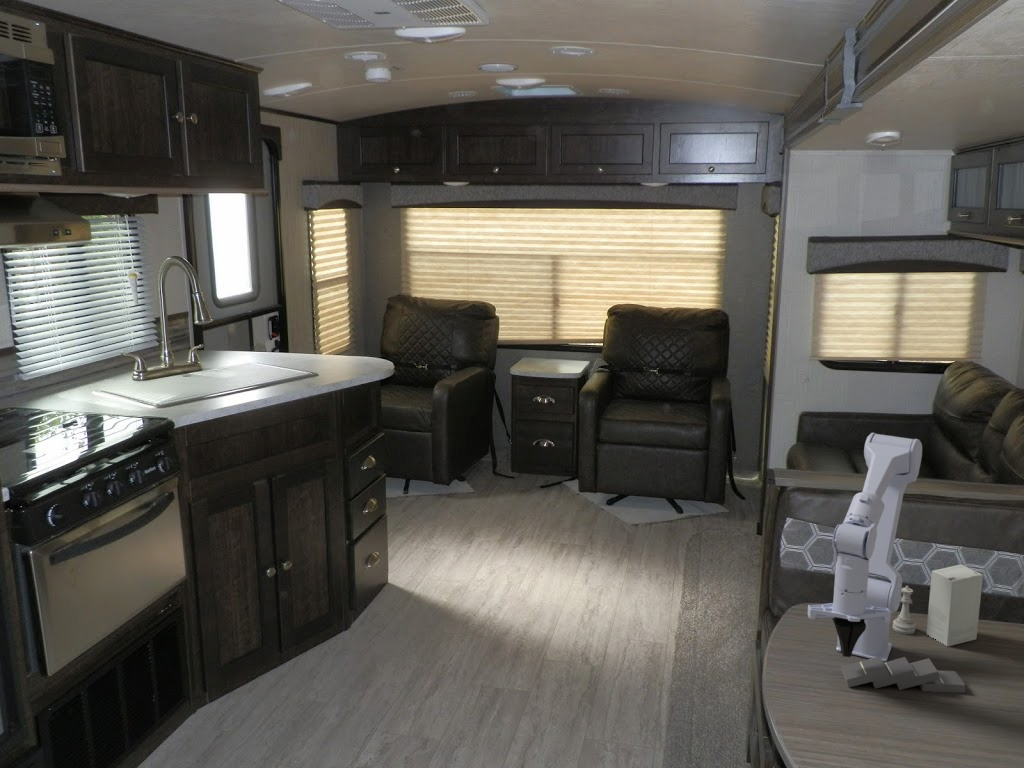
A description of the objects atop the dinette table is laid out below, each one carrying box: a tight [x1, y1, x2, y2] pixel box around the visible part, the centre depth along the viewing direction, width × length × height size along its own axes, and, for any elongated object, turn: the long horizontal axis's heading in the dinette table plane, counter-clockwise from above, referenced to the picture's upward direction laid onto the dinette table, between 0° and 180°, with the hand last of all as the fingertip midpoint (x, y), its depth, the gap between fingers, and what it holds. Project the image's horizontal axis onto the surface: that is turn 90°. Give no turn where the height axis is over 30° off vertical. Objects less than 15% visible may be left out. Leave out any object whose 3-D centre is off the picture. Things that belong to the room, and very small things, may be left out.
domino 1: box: [840, 656, 889, 688], centre depth 166 cm, size 2×5×8 cm
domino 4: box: [918, 670, 966, 694], centre depth 165 cm, size 2×5×8 cm
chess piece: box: [892, 585, 916, 635], centre depth 186 cm, size 4×4×10 cm
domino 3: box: [895, 658, 940, 691], centre depth 166 cm, size 2×5×8 cm
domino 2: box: [871, 656, 916, 690], centre depth 166 cm, size 2×5×8 cm
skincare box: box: [925, 564, 984, 647], centre depth 182 cm, size 8×6×15 cm
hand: (845, 654), depth 166 cm, fingers closed
